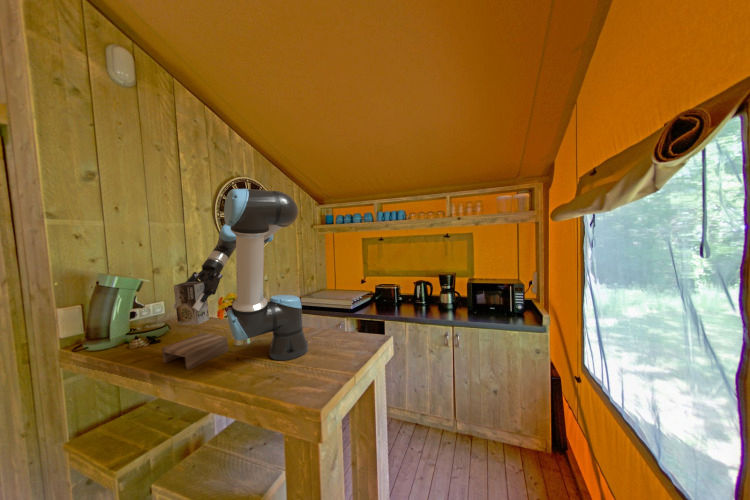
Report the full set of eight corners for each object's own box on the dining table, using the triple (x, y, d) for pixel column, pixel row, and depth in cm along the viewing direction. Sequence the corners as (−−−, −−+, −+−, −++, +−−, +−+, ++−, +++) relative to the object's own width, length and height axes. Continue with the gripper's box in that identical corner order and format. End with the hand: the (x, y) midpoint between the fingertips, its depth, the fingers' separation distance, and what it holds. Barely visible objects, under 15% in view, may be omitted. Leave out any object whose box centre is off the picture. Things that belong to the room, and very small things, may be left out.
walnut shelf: (228, 350, 110) (227, 337, 110) (188, 369, 96) (187, 354, 95) (204, 345, 117) (203, 332, 117) (163, 362, 102) (161, 347, 102)
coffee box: (210, 319, 108) (206, 281, 107) (198, 325, 102) (194, 284, 101) (189, 319, 109) (186, 281, 108) (176, 325, 103) (172, 284, 102)
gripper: (241, 268, 116) (214, 314, 102) (200, 268, 122) (170, 312, 108) (230, 257, 111) (201, 305, 97) (189, 258, 116) (155, 303, 102)
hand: (185, 308), depth 102 cm, fingers closed on coffee box, 10 cm apart
